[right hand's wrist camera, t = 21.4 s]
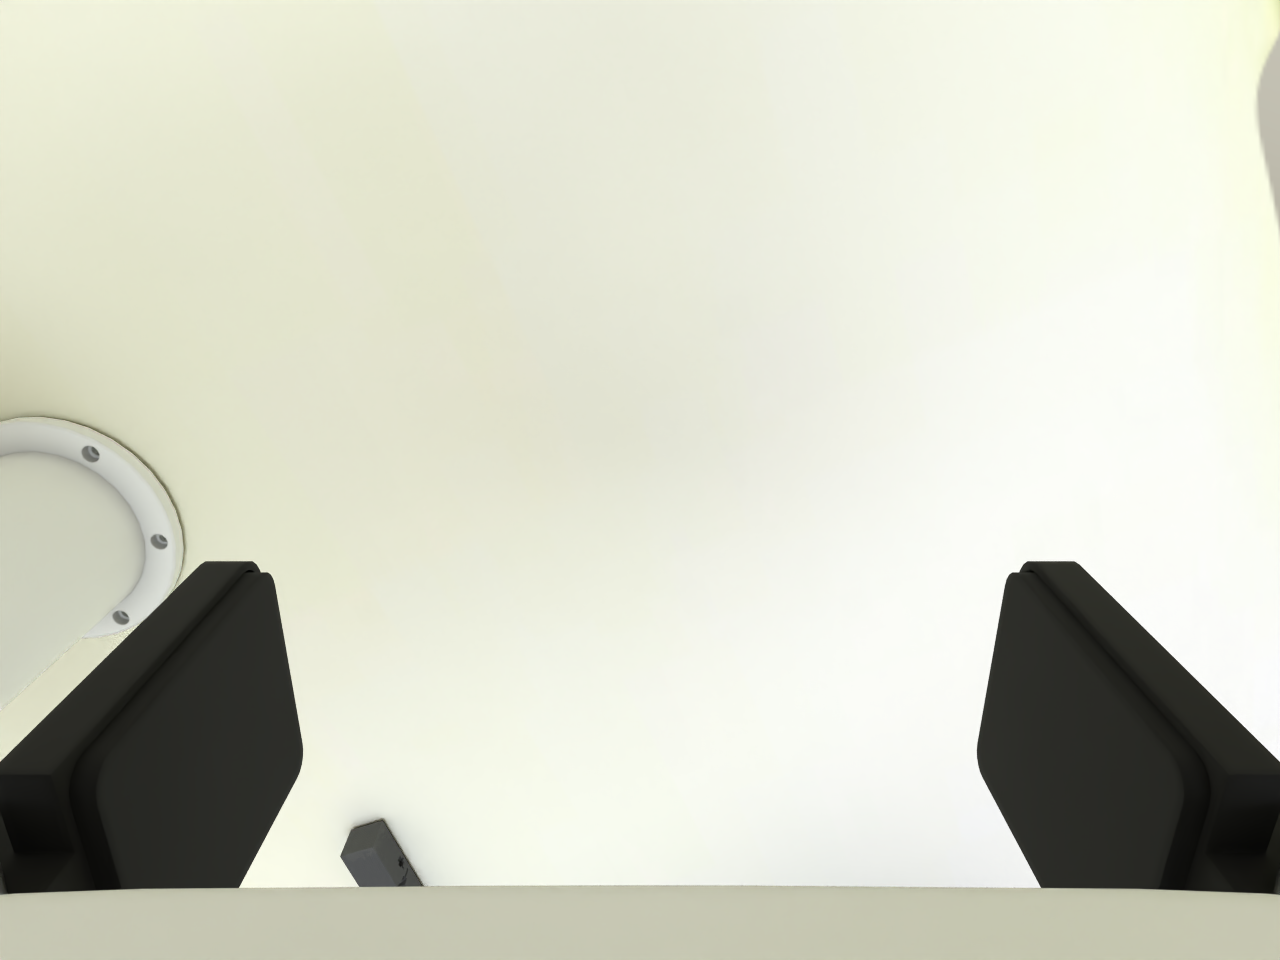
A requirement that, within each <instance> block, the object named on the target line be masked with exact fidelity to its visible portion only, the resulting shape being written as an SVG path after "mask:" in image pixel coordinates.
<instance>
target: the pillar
mask: <svg viewBox="0 0 1280 960" xmlns="http://www.w3.org/2000/svg"><path fill="white" fill-rule="evenodd" d="M340 857H341V859H342V860H343V862H344V863H345V865H346V866H347V868H348V870H349V871H350V873H351V874H352V876H353V877H354V879H355V881H356V882H357V884H358V885H359V887H422V885H421V883H420V882H419V880H418V878H417V877H416V875H415V873H414V872H413V870H412V868H411V867H410V865H409V863H408V862H407V860H406V858H405V857H404V855H403V853H402V852H401V850H400V848H399V847H398V845H397V843H396V842H395V840H394V838H393V837H392V835H391V833H390V832H389V830H388V828H387V827H386V825H385V823H384V822H383V820H382V821H379V822H376V823H372V824H369V825H366V826H362V827H359V828H355V829H352V830H351V832H350V834H349V836H348V839H347V841H346V844H345V846H344V849H343V851H342V853H341V856H340Z"/></svg>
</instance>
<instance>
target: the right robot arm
mask: <svg viewBox="0 0 1280 960" xmlns="http://www.w3.org/2000/svg"><path fill="white" fill-rule="evenodd" d="M183 552H184V548H183V537H182V529H181V526H180V523H179V519H178V516H177V513H176V510H175V508H174V506H173V504H172V502H171V500H170V498H169V496H168V494H167V492H166V491H165V489H164V488H163V486H162V485H161V484H160V482H159V481H158V480H157V478H156V477H155V476H154V475H153V473H152V472H151V471H150V470H149V469H148V468H147V467H146V466H145V465H144V464H143V463H142V462H141V461H140V460H139V459H138V458H137V457H136V456H135V455H134V454H133V453H131V452H130V451H128V450H127V449H125V448H124V447H123V446H121V445H120V444H118V443H117V442H115V441H114V440H113V439H111V438H109V437H107V436H105V435H103V434H101V433H99V432H97V431H95V430H93V429H91V428H88V427H85V426H82V425H79V424H75V423H72V422H69V421H66V420H60V419H53V418H46V417H21V418H14V419H10V420H5V421H1V422H0V711H1V710H2V709H3V708H4V707H5V706H7V705H8V704H9V703H10V702H11V701H12V700H13V699H14V698H15V697H17V696H18V695H19V694H20V693H21V692H22V691H23V690H24V689H25V688H26V687H28V686H29V685H30V684H31V683H32V682H33V681H34V680H35V679H36V678H37V677H39V676H40V675H41V674H42V673H43V672H44V671H45V670H46V669H47V668H49V667H50V666H51V665H52V664H53V663H54V662H55V661H56V660H57V659H58V658H60V657H61V656H62V655H63V654H64V653H65V652H66V651H67V650H68V649H69V648H71V647H72V646H73V645H74V644H75V643H76V642H77V641H78V640H79V639H81V638H99V637H104V636H109V635H113V634H118V633H120V632H123V631H125V630H127V629H130V628H132V627H134V626H136V625H138V624H139V623H140V622H142V621H143V620H144V621H143V622H142V623H141V624H140V625H139V626H138V627H137V628H136V629H135V630H134V631H133V632H132V633H131V634H130V635H129V636H128V637H127V638H126V639H125V640H124V641H123V642H122V643H120V644H119V645H118V646H117V647H116V648H115V649H114V650H113V651H112V652H111V653H110V654H109V655H108V656H107V657H106V658H105V659H104V660H103V661H102V662H101V663H100V664H99V665H98V666H97V667H96V668H95V669H94V670H93V671H92V672H91V673H90V674H89V675H88V676H87V677H86V678H85V679H84V680H83V681H82V682H81V683H80V684H79V685H78V686H77V687H76V688H75V689H74V690H73V691H72V692H71V693H70V694H69V695H68V696H67V697H66V698H65V699H64V700H63V701H62V702H61V703H60V704H59V705H58V706H57V707H56V708H55V709H53V710H52V711H51V712H50V713H49V714H48V715H47V716H46V717H45V718H44V719H43V720H42V721H41V722H40V723H39V724H38V725H37V726H36V727H35V728H34V729H33V730H32V731H31V732H30V733H29V734H28V735H27V736H26V737H25V738H24V739H23V740H22V741H21V742H20V743H19V744H18V745H17V746H16V747H15V748H14V749H13V750H12V751H11V752H10V753H9V754H8V755H7V756H6V757H5V758H4V759H3V760H2V761H1V762H0V960H1280V762H1279V761H1278V760H1277V759H1276V758H1275V757H1274V756H1273V755H1272V754H1271V753H1270V752H1269V751H1268V750H1267V749H1266V748H1265V747H1264V746H1263V745H1262V744H1261V743H1260V742H1259V741H1258V740H1257V739H1256V738H1255V737H1254V736H1253V735H1252V734H1251V733H1250V732H1249V731H1248V730H1247V729H1246V728H1245V727H1244V726H1243V725H1242V724H1241V723H1240V722H1239V721H1238V720H1237V719H1236V718H1235V717H1234V716H1233V715H1232V714H1231V713H1230V712H1229V711H1228V710H1227V709H1225V708H1224V707H1223V706H1222V705H1221V704H1220V703H1219V702H1218V701H1217V700H1216V699H1215V698H1214V697H1213V696H1212V695H1211V694H1210V693H1209V692H1208V691H1207V690H1206V689H1205V688H1204V687H1203V686H1202V685H1201V684H1200V683H1199V682H1198V681H1197V680H1196V679H1195V678H1194V677H1193V676H1192V675H1191V674H1190V673H1189V672H1188V671H1187V670H1186V669H1185V668H1184V667H1183V666H1182V665H1181V664H1180V663H1179V662H1178V661H1177V660H1176V659H1175V658H1174V657H1173V656H1172V655H1171V654H1170V653H1169V652H1168V651H1167V650H1166V649H1165V648H1164V647H1163V646H1162V645H1161V644H1160V643H1158V642H1157V641H1156V640H1155V639H1154V638H1153V637H1152V636H1151V635H1150V634H1149V633H1148V632H1147V631H1146V630H1145V629H1144V628H1143V627H1142V626H1141V625H1140V624H1139V623H1138V622H1137V621H1136V620H1135V619H1134V618H1133V617H1132V616H1131V615H1130V614H1129V613H1128V612H1127V611H1126V610H1125V609H1124V608H1123V607H1122V606H1121V605H1120V604H1119V603H1118V602H1117V601H1116V600H1115V599H1114V598H1113V597H1112V596H1111V595H1110V594H1109V593H1108V592H1107V591H1106V590H1105V589H1104V588H1103V587H1102V586H1101V585H1100V584H1099V583H1098V582H1097V581H1096V580H1095V579H1094V578H1093V577H1091V576H1090V575H1089V574H1088V573H1087V572H1086V571H1085V570H1084V569H1083V568H1082V567H1081V566H1080V565H1079V564H1078V563H1076V562H1074V561H1027V562H1026V563H1025V564H1024V565H1023V566H1022V568H1021V570H1020V572H1019V573H1011V574H1010V575H1009V576H1008V578H1007V580H1006V584H1005V589H1004V595H1003V600H1002V606H1001V612H1000V618H999V623H998V629H997V635H996V641H995V646H994V652H993V658H992V663H991V669H990V675H989V681H988V686H987V692H986V698H985V704H984V709H983V715H982V721H981V727H980V732H979V738H978V744H977V759H978V765H979V769H980V772H981V775H982V777H983V779H984V781H985V783H986V785H987V787H988V789H989V790H990V792H991V794H992V796H993V798H994V800H995V802H996V804H997V805H998V807H999V809H1000V811H1001V813H1002V815H1003V817H1004V819H1005V821H1006V822H1007V824H1008V826H1009V828H1010V830H1011V832H1012V834H1013V836H1014V837H1015V839H1016V841H1017V843H1018V845H1019V847H1020V849H1021V851H1022V853H1023V854H1024V856H1025V858H1026V860H1027V862H1028V864H1029V866H1030V868H1031V870H1032V871H1033V873H1034V875H1035V877H1036V879H1037V881H1038V883H1039V885H1040V886H1041V888H969V887H846V886H423V887H311V888H239V886H240V885H241V883H242V881H243V879H244V877H245V875H246V873H247V871H248V870H249V868H250V866H251V864H252V862H253V860H254V858H255V856H256V854H257V853H258V851H259V849H260V847H261V845H262V843H263V841H264V839H265V837H266V836H267V834H268V832H269V830H270V828H271V826H272V824H273V822H274V821H275V819H276V817H277V815H278V813H279V811H280V809H281V807H282V805H283V804H284V802H285V800H286V798H287V796H288V794H289V792H290V790H291V789H292V787H293V785H294V783H295V781H296V779H297V777H298V775H299V772H300V769H301V765H302V759H303V744H302V738H301V732H300V727H299V721H298V715H297V709H296V704H295V698H294V692H293V686H292V681H291V675H290V669H289V663H288V658H287V652H286V646H285V641H284V635H283V629H282V623H281V618H280V612H279V606H278V600H277V595H276V589H275V584H274V580H273V578H272V576H271V575H270V574H269V573H261V572H260V570H259V568H258V566H257V565H256V564H255V563H254V562H253V561H206V562H204V563H202V564H201V565H200V566H199V567H198V568H197V569H196V570H195V571H194V572H193V573H192V574H191V575H190V576H189V577H187V578H186V579H185V580H184V581H183V582H182V583H181V584H180V585H179V586H178V587H177V588H176V589H175V590H174V591H173V592H172V593H171V591H172V590H173V588H174V587H175V585H176V582H177V580H178V577H179V574H180V572H181V568H182V560H183ZM170 593H171V594H170ZM169 594H170V595H169Z"/></svg>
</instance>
